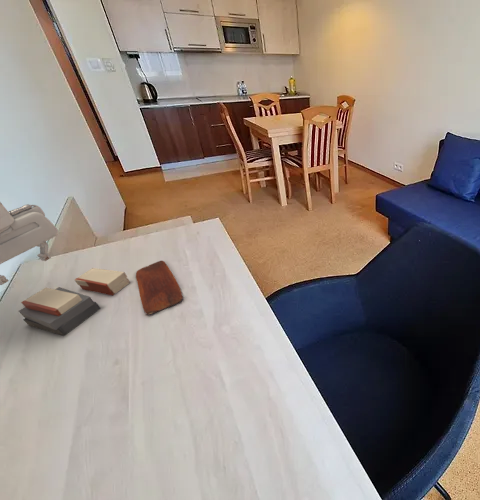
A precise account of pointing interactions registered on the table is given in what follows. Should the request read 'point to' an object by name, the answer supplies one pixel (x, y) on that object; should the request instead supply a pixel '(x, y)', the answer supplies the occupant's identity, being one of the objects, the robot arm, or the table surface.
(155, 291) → the wooden tablet
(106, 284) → the white book pile
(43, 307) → the white book
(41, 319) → the grey book pile
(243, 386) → the table surface
